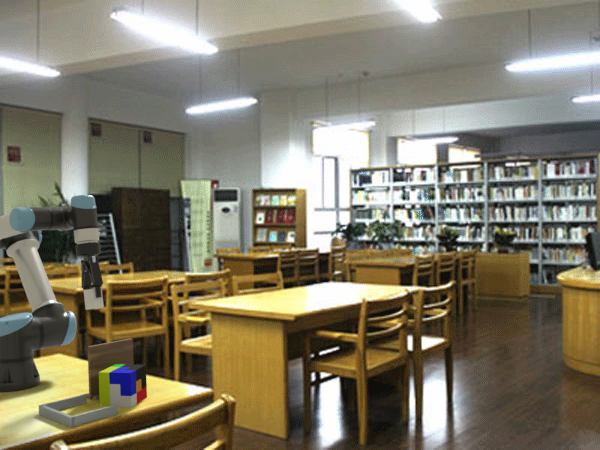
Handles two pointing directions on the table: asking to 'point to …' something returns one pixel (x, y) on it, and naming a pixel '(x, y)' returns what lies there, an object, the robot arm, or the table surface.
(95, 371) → the screen
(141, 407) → the table surface
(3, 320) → the robot arm
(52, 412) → the corral
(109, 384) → the puzzle toy
